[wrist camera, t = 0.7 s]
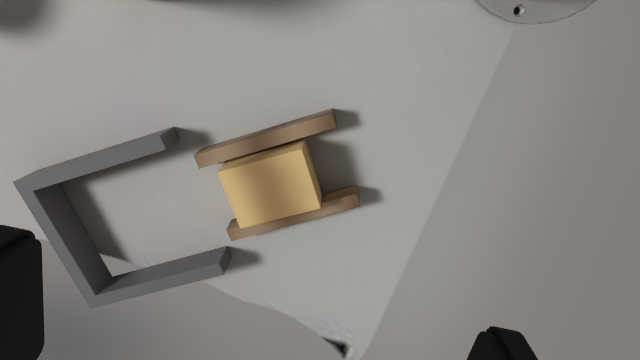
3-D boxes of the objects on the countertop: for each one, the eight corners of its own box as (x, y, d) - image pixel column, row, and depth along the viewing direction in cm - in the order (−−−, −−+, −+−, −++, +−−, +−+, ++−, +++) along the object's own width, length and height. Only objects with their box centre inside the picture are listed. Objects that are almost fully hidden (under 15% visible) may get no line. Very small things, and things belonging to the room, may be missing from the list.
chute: (332, 108, 34) (332, 113, 32) (359, 197, 36) (360, 206, 34) (201, 148, 35) (193, 155, 33) (236, 230, 38) (231, 241, 36)
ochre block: (305, 136, 35) (301, 149, 31) (321, 190, 36) (320, 208, 33) (229, 157, 36) (217, 172, 32) (249, 208, 37) (240, 228, 34)
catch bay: (173, 126, 35) (159, 135, 32) (231, 256, 39) (223, 274, 36) (37, 170, 37) (12, 182, 34) (107, 289, 41) (90, 308, 38)
